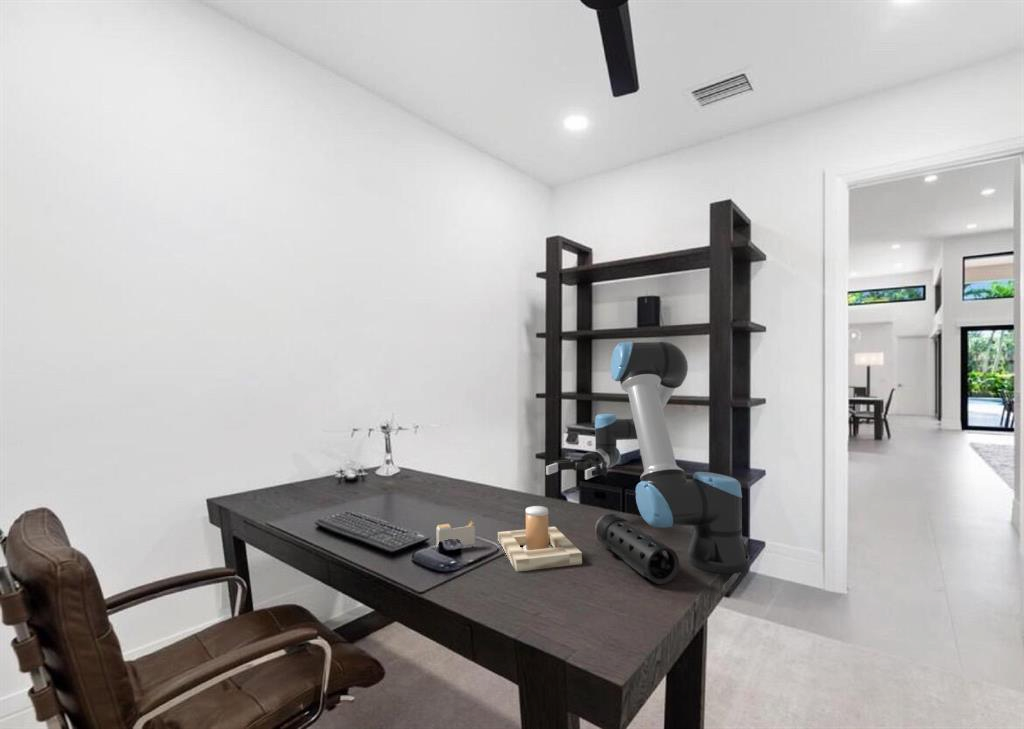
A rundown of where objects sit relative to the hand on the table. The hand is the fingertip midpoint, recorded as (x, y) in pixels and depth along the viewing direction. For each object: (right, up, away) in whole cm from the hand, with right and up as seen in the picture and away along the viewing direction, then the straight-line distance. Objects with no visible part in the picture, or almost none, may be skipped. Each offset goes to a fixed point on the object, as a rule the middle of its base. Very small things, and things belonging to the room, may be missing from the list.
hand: (566, 472), depth 154 cm
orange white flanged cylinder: (-10, -20, -14) cm, 26 cm away
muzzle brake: (+10, -16, -23) cm, 30 cm away
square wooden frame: (-10, -20, -14) cm, 26 cm away
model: (-33, -21, -10) cm, 40 cm away
